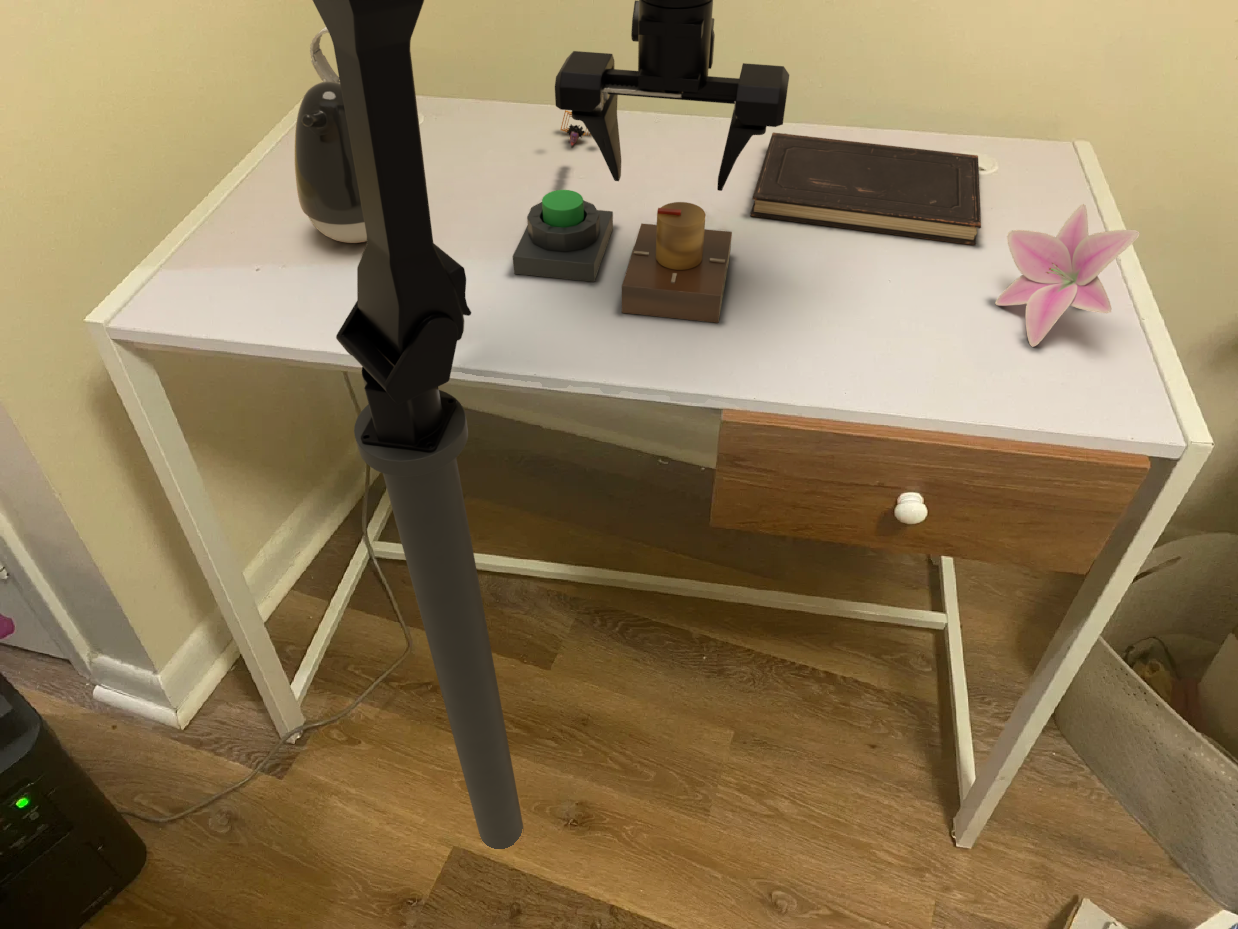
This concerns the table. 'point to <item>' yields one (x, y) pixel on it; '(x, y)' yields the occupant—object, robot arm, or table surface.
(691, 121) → the table surface
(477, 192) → the table surface
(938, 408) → the table surface
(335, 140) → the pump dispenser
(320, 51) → the watch
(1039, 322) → the lily
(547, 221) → the button
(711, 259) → the panel
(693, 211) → the dial
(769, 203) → the hardcover book
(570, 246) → the button base
